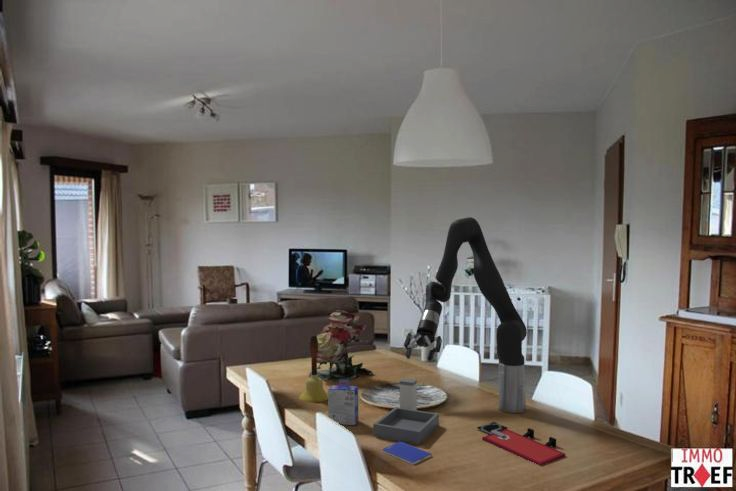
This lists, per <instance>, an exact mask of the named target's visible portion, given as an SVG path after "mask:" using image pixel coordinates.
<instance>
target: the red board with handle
mask: <svg viewBox="0 0 736 491" xmlns="http://www.w3.org/2000/svg"><path fill="white" fill-rule="evenodd" d="M476 428H477V429H478V430H481V431H483V432H485V433H487V435H484V436H482V439H481V440H482V441H484V442H486V443H488V444H491V445H493V446H495V447H497V448H500V449H501V448H502V450H504V451H506V452H508V453H510V452H511V454H512V453H513V454H512V455H515V456H517V457H519V456H520V458H521V457H522V459H524V460H526V461H528V460H529V461H528V462H530V461H531V463H532V462H534V463H533V464H535V463H536V464H535V465H537V464H538V466H539V465H542V464H544V465H546V464H545V463H547V464H549V463H552V462H554V460H555V461H556V460H557V461H558V460H560V459H562V458H565V457H566V453H564V452H562V451H559V450H557V449H556V447H557V438H555V437H552V436H549V437H548V441H547V442H546V443H545V444H544V443H541V442H538V441H536V440H534V439H535V429H532V428H530V427H529V428H527V430H526V431H527V432H525V433H524V434H519V433H517V432H514V431H512V430H510V429H509V428H508V427H507V426H505V425H502V424H500V423H498V422H495V421H492V422H489V423H486V424H483V425H480V426H476ZM488 434H489V435H488ZM533 438H534V439H533ZM548 462H549V463H548ZM542 466H543V465H542Z"/></svg>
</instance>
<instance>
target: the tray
mask: <svg viewBox="0 0 736 491" xmlns="http://www.w3.org/2000/svg"><path fill="white" fill-rule="evenodd" d="M439 418H440V416H439V413H437V412H429V411H423V410H418V409H417V410H411V409H404V408H400V407H398V406H395V407H394V408H393V409H391V410H390V411H388V412H387V413H386V414H385V415H384V416H382V417H381V418H379V419H378V420H377V421H376V422H374V423H373V427H372V428H373V437H376V438H382V439H387V440H393V441H398V442H400V441H401V442H403V443H406V444H407V443H409V444H414V445H418V446H420V445H421V444H422V443H423V442H424V441H425V440H426V439H427V438H429V436H430V435H431V434H432V433H433V432H434V431H435V430H436V429H437V427H438V428H439V426H440V423H439V421H440V420H439Z"/></svg>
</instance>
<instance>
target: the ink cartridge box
mask: <svg viewBox="0 0 736 491" xmlns="http://www.w3.org/2000/svg"><path fill="white" fill-rule="evenodd" d="M343 382H344V383H343ZM327 393H328V399H327V400H328V401H327V402H328V405H327V406H328V408H327V410H328V411H327V414H328V417H329V418H331V419H333V420H334V421H336V422H338V423H340V424H339V425H345V426H346V425H348V426H356V424H357V423H358V422H359V386H356V385H350V381H349V380H341V379H339V380H338V384H337V385H331V386H330V387H329V388H327ZM328 417H327V418H328Z"/></svg>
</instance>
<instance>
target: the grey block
mask: <svg viewBox="0 0 736 491" xmlns="http://www.w3.org/2000/svg"><path fill="white" fill-rule="evenodd" d="M417 382H418V381H417V379H413V378H406V377H403V378H402V379H400V380H399V408H404V409H411V410H417V411H418V398H417V397H418V396H417V394H418V390H417V389H418V387H417V386H418V384H417Z"/></svg>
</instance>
